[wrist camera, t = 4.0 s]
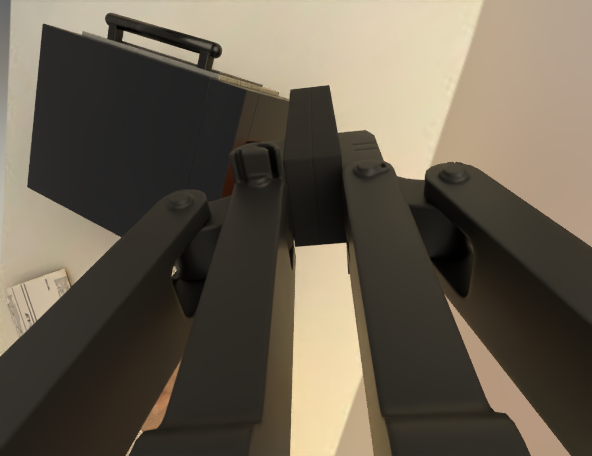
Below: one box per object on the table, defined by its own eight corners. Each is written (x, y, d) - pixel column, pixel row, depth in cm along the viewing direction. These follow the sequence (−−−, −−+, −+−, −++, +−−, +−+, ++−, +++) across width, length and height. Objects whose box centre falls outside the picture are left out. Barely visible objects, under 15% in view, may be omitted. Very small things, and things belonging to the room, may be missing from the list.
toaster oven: (326, 82, 32) (256, 51, 22) (277, 244, 36) (199, 279, 26) (160, 33, 37) (45, -10, 27) (135, 179, 41) (26, 187, 32)
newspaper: (9, 288, 53) (-10, 294, 51) (75, 265, 49) (57, 270, 47) (65, 450, 54) (48, 463, 52) (135, 441, 50) (120, 455, 47)
